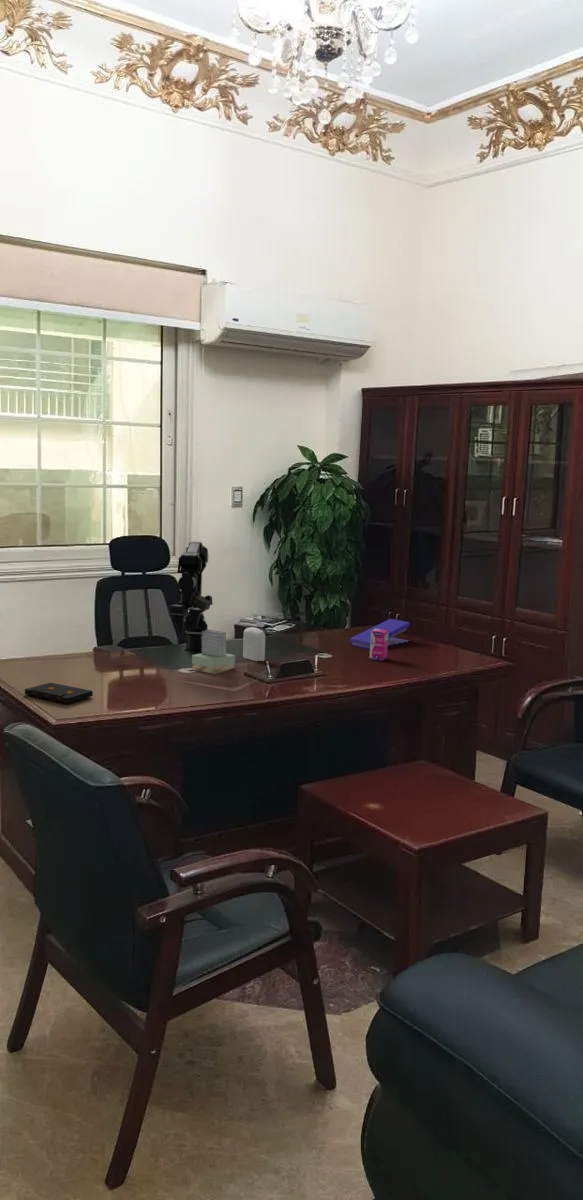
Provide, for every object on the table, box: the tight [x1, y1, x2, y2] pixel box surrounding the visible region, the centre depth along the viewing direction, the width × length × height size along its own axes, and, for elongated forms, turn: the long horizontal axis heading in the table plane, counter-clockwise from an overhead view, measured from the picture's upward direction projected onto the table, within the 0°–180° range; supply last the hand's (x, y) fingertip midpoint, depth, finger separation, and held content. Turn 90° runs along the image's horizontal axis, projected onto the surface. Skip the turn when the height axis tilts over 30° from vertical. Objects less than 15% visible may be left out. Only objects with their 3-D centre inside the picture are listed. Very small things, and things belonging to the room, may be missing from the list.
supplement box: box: [369, 629, 389, 662], centre depth 361 cm, size 6×6×12 cm
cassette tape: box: [24, 682, 94, 704], centre depth 288 cm, size 18×12×2 cm, turn 60°
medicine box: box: [201, 629, 227, 657], centre depth 331 cm, size 8×4×9 cm, turn 60°
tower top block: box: [191, 652, 236, 668], centre depth 332 cm, size 10×12×3 cm
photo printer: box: [242, 626, 266, 662], centre depth 350 cm, size 10×4×12 cm, turn 39°
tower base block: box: [192, 663, 235, 675], centre depth 332 cm, size 10×12×3 cm
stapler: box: [349, 618, 411, 650], centre depth 390 cm, size 12×28×10 cm, turn 136°
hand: (188, 630), depth 335 cm, fingers open, 9 cm apart
